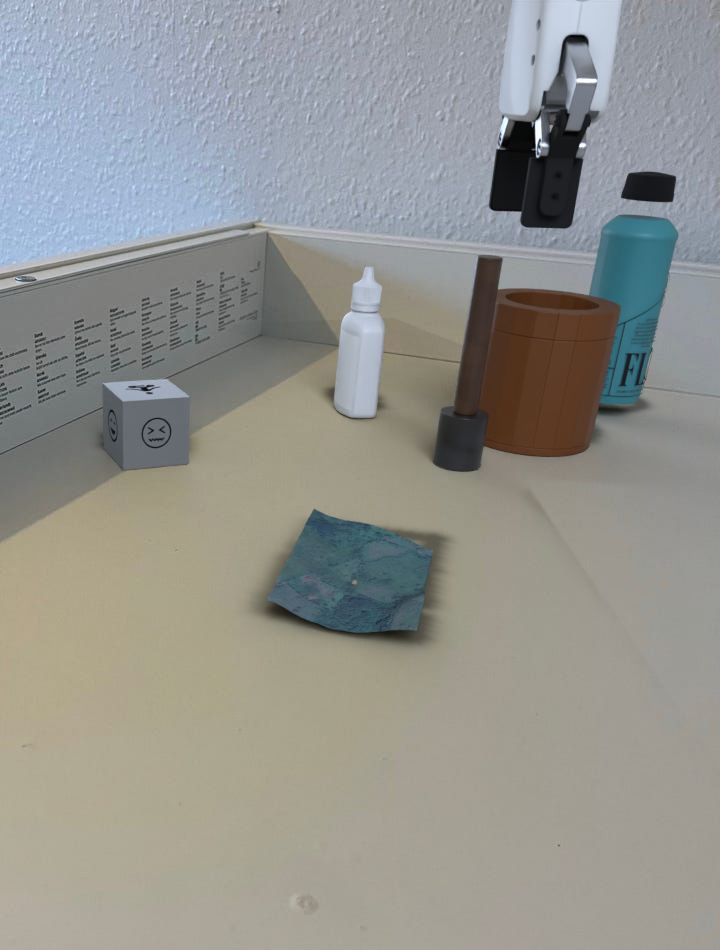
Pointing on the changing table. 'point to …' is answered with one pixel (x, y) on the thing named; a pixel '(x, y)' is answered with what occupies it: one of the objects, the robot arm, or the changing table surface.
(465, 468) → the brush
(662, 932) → the changing table surface
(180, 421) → the dice cube
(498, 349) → the brown wooden cup
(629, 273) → the beverage bottle
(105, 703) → the changing table surface
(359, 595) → the terrain model
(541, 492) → the changing table surface
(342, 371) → the eye dropper bottle
